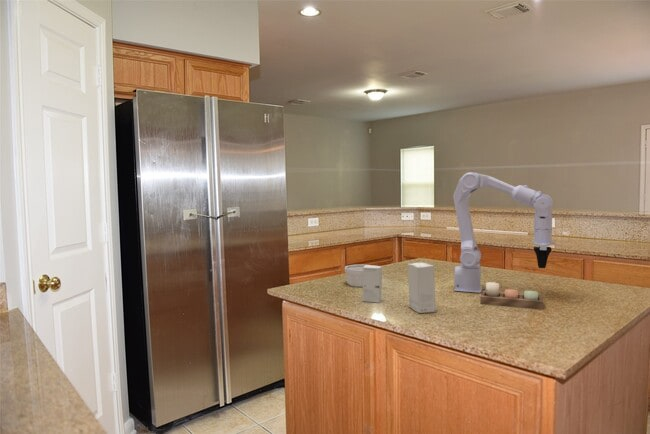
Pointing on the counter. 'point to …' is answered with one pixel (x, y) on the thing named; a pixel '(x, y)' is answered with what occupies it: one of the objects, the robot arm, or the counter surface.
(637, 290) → the counter surface
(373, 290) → the skincare box
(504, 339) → the counter surface
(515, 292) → the terracotta button
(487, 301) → the button panel
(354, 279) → the ramekin
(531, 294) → the sage button
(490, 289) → the ivory button
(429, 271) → the skincare box
